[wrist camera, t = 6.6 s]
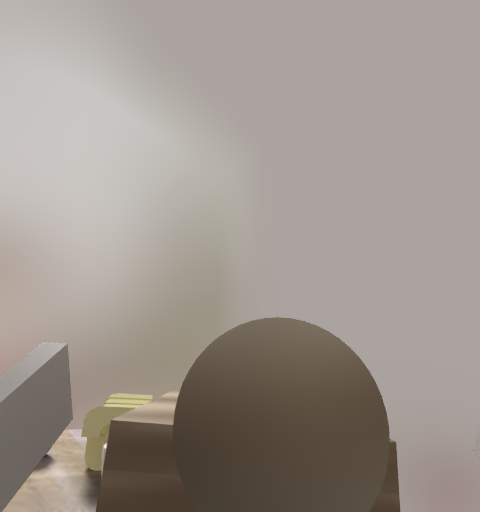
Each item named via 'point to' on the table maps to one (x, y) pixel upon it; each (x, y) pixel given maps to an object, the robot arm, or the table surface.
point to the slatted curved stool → (106, 424)
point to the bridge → (172, 465)
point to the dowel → (280, 423)
